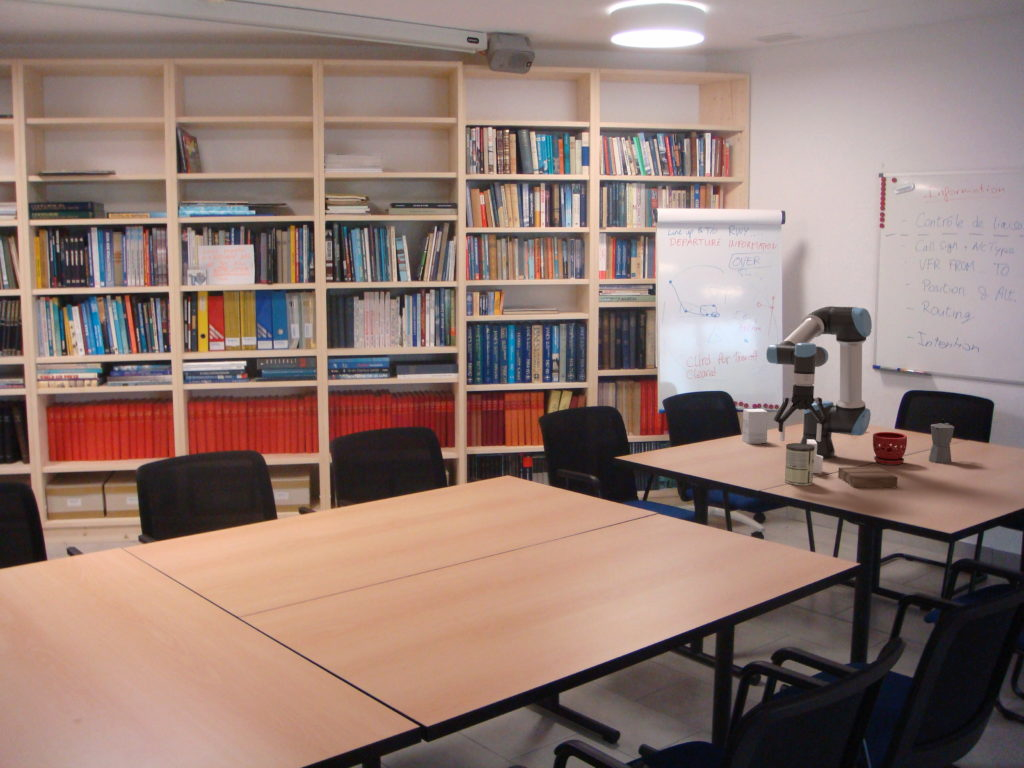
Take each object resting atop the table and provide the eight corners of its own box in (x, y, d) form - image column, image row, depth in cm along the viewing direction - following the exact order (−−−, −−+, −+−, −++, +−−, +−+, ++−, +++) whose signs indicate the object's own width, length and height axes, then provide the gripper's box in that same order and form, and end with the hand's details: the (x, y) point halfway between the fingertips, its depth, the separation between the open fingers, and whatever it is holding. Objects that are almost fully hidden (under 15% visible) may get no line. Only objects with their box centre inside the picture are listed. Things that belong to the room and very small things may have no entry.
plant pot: (870, 458, 396) (872, 430, 395) (904, 460, 392) (906, 432, 390) (871, 464, 384) (873, 436, 382) (906, 467, 380) (908, 438, 378)
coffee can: (782, 478, 358) (783, 442, 356) (809, 479, 357) (811, 443, 355) (787, 485, 348) (789, 448, 346) (815, 486, 347) (817, 448, 345)
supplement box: (760, 440, 434) (762, 408, 432) (767, 443, 425) (768, 411, 423) (741, 440, 434) (742, 408, 432) (747, 443, 425) (749, 411, 423)
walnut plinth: (838, 477, 361) (838, 467, 360) (879, 477, 361) (879, 467, 360) (854, 487, 345) (854, 477, 344) (896, 487, 345) (897, 477, 345)
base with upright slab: (823, 474, 366) (825, 444, 364) (799, 473, 368) (801, 443, 366) (820, 469, 375) (822, 439, 373) (797, 468, 377) (799, 438, 375)
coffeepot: (946, 465, 384) (949, 422, 381) (922, 462, 390) (925, 419, 388) (958, 459, 395) (961, 417, 392) (935, 456, 401) (938, 415, 399)
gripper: (773, 385, 343) (770, 442, 346) (840, 386, 344) (837, 443, 346) (767, 382, 351) (764, 438, 353) (833, 383, 351) (829, 439, 354)
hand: (800, 440), depth 350 cm, fingers open, 13 cm apart
